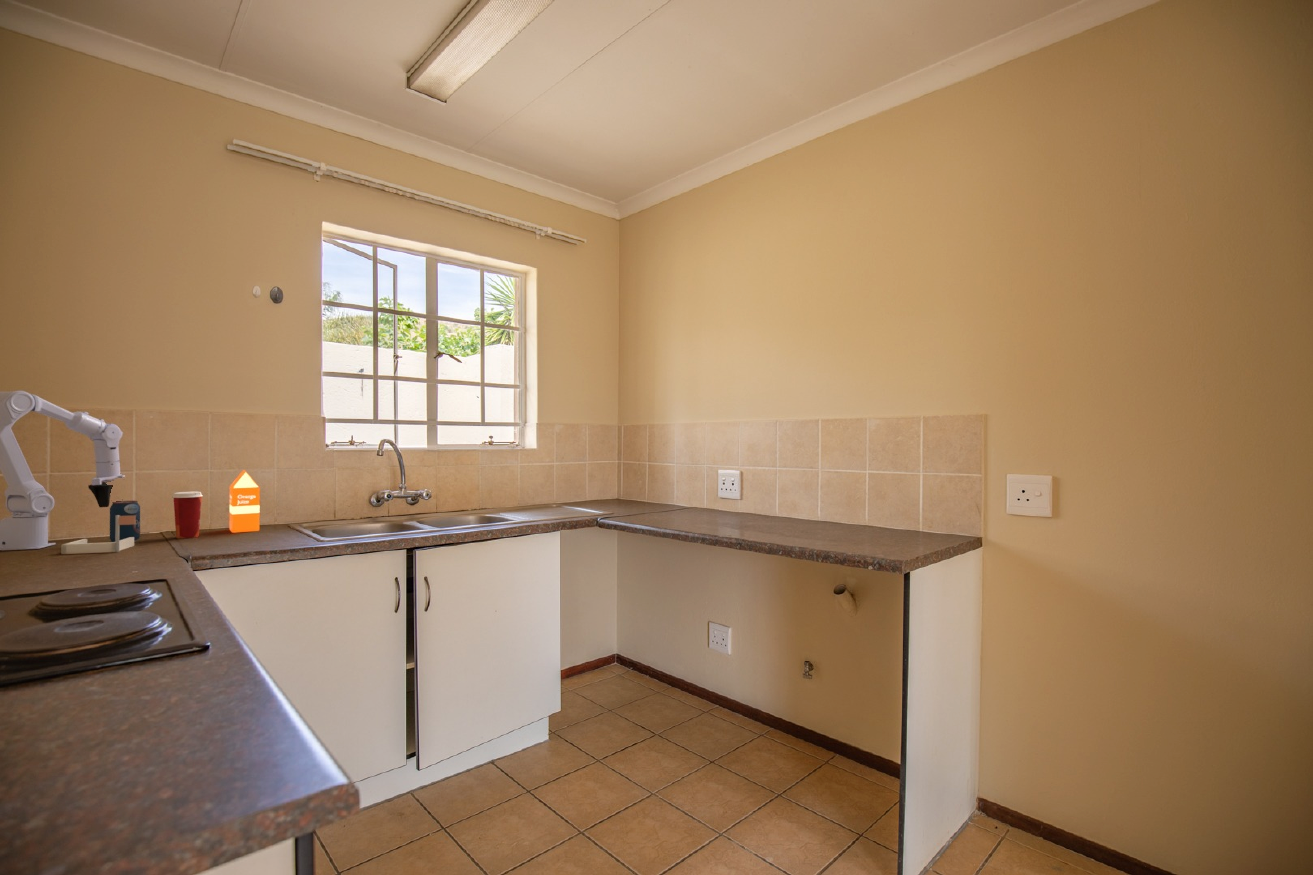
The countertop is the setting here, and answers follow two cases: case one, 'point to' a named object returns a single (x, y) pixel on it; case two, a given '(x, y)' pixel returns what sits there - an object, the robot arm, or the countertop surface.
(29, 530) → the robot arm
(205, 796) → the countertop surface
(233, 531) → the orange juice
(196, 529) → the paper cup
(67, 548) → the shallow cream tray
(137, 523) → the soda can
